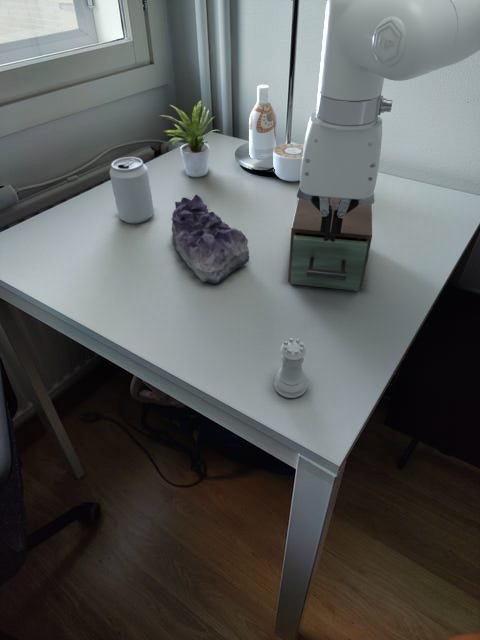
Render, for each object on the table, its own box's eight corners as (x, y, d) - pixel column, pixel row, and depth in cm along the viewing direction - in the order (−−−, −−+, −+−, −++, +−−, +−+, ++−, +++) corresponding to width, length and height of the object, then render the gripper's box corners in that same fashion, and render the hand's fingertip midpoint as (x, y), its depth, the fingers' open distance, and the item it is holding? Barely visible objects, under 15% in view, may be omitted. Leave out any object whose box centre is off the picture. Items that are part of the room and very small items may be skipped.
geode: (150, 242, 91) (148, 193, 85) (202, 232, 97) (203, 185, 91) (200, 291, 78) (201, 237, 72) (256, 276, 83) (262, 224, 77)
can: (112, 217, 99) (99, 162, 91) (140, 204, 103) (130, 151, 95) (133, 229, 95) (122, 173, 87) (161, 215, 99) (153, 161, 91)
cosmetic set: (344, 185, 108) (356, 100, 96) (320, 199, 103) (330, 111, 91) (264, 157, 121) (266, 79, 109) (240, 168, 116) (238, 88, 104)
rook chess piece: (288, 369, 65) (291, 327, 60) (313, 386, 63) (319, 344, 57) (267, 387, 63) (268, 345, 57) (292, 405, 60) (296, 363, 55)
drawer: (358, 308, 73) (367, 262, 68) (287, 300, 75) (289, 255, 69) (359, 247, 87) (367, 204, 81) (299, 241, 89) (302, 199, 83)
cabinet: (361, 289, 79) (372, 235, 72) (287, 281, 81) (291, 228, 74) (362, 244, 89) (371, 193, 82) (297, 238, 91) (301, 187, 84)
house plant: (174, 158, 122) (166, 92, 111) (226, 159, 121) (223, 92, 110) (162, 181, 111) (152, 111, 101) (218, 183, 110) (215, 111, 99)
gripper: (408, 101, 58) (380, 228, 71) (290, 95, 61) (283, 219, 73) (412, 122, 53) (381, 255, 65) (283, 114, 55) (276, 245, 68)
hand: (329, 236), depth 69 cm, fingers closed
